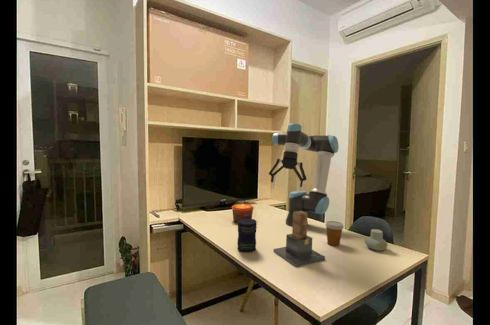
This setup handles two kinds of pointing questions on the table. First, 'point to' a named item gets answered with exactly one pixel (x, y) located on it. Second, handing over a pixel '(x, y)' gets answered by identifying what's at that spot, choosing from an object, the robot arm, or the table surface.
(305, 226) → the column
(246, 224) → the storage jar
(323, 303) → the table surface
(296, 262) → the grey socket base
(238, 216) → the food container
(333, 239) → the disposable coffee cup
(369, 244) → the air freshener
